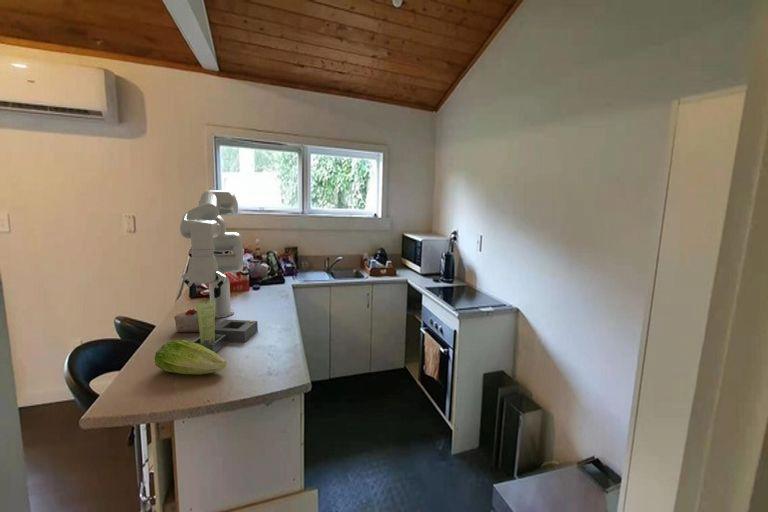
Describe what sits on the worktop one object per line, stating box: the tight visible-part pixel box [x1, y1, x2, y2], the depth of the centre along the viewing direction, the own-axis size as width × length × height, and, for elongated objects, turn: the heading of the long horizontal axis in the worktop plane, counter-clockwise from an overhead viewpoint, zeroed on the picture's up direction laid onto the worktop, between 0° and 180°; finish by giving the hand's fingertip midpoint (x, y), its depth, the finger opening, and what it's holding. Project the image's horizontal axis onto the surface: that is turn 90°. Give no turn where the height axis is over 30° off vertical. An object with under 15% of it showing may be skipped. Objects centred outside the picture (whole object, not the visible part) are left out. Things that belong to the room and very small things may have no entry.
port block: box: [215, 319, 259, 344], centre depth 156 cm, size 15×13×5 cm
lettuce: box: [154, 339, 227, 375], centre depth 123 cm, size 12×24×13 cm
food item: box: [173, 308, 200, 333], centre depth 161 cm, size 14×8×10 cm, turn 96°
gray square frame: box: [191, 334, 228, 354], centre depth 142 cm, size 10×11×4 cm
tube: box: [195, 300, 216, 344], centre depth 141 cm, size 6×5×20 cm
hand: (205, 296), depth 139 cm, fingers open, 9 cm apart
